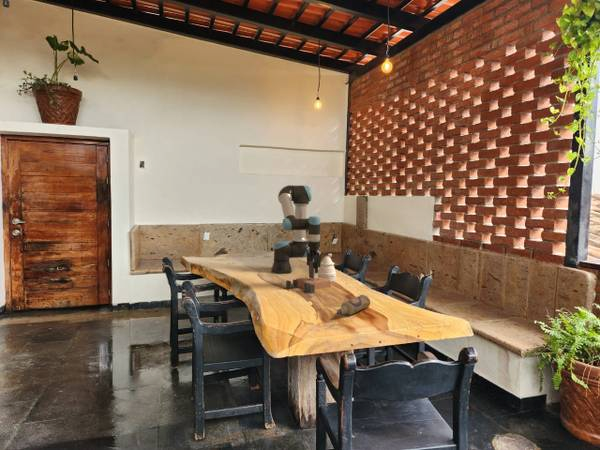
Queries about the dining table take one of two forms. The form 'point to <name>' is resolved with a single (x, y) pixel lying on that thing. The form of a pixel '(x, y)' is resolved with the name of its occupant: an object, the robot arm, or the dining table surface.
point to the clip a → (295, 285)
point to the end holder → (314, 282)
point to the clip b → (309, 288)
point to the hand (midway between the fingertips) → (313, 277)
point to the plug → (311, 271)
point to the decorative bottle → (354, 305)
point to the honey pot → (327, 269)
